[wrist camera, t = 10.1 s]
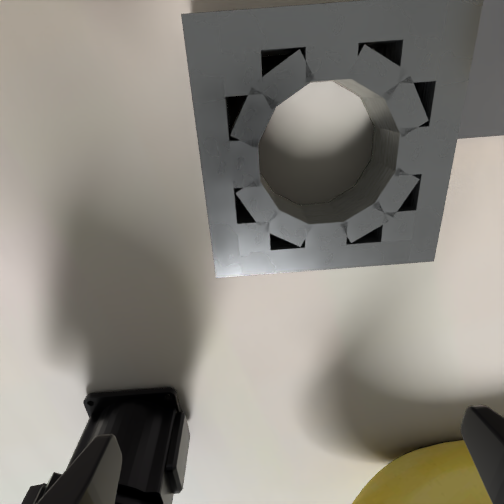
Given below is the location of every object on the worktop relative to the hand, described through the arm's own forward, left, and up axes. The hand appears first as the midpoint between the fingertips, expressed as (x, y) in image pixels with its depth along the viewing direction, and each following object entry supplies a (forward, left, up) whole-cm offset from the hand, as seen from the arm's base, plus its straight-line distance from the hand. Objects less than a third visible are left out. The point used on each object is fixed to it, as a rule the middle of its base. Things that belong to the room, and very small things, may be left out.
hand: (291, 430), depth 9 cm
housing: (+3, +5, -12) cm, 13 cm away
